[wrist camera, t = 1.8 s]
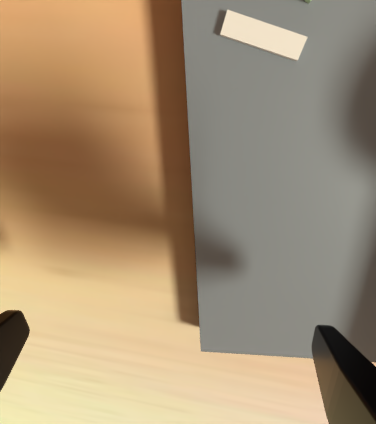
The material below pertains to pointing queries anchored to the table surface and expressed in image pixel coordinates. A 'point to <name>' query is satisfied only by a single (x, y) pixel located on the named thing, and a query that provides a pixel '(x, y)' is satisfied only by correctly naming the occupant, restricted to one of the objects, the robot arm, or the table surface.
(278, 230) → the grey flat square plate
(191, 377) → the table surface
